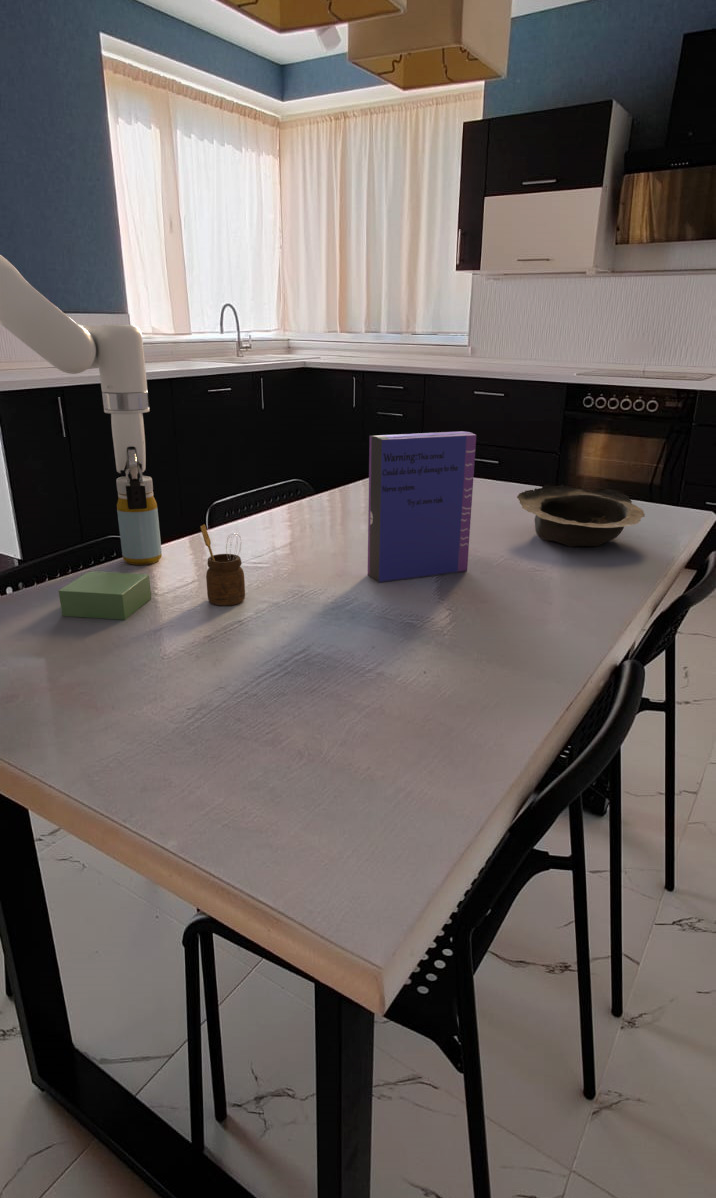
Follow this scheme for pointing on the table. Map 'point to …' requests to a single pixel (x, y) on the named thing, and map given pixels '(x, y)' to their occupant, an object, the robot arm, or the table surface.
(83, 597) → the green block
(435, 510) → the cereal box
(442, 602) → the table surface
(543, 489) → the stone bowl
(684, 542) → the table surface
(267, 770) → the table surface
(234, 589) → the utensil holder
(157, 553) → the bottle
